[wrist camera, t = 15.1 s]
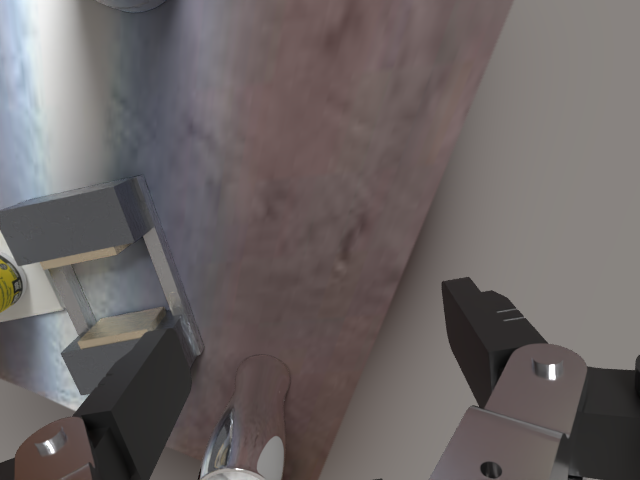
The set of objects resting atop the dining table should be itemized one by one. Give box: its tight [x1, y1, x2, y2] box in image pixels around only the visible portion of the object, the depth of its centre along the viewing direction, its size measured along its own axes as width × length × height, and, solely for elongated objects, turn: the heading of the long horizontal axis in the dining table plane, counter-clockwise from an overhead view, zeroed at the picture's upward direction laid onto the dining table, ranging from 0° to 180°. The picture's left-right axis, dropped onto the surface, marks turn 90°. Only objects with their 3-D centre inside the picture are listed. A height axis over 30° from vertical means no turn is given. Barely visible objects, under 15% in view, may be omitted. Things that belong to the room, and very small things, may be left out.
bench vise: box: [0, 175, 204, 395], centre depth 40 cm, size 19×12×5 cm, turn 12°
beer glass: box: [198, 355, 290, 480], centre depth 39 cm, size 7×7×15 cm
